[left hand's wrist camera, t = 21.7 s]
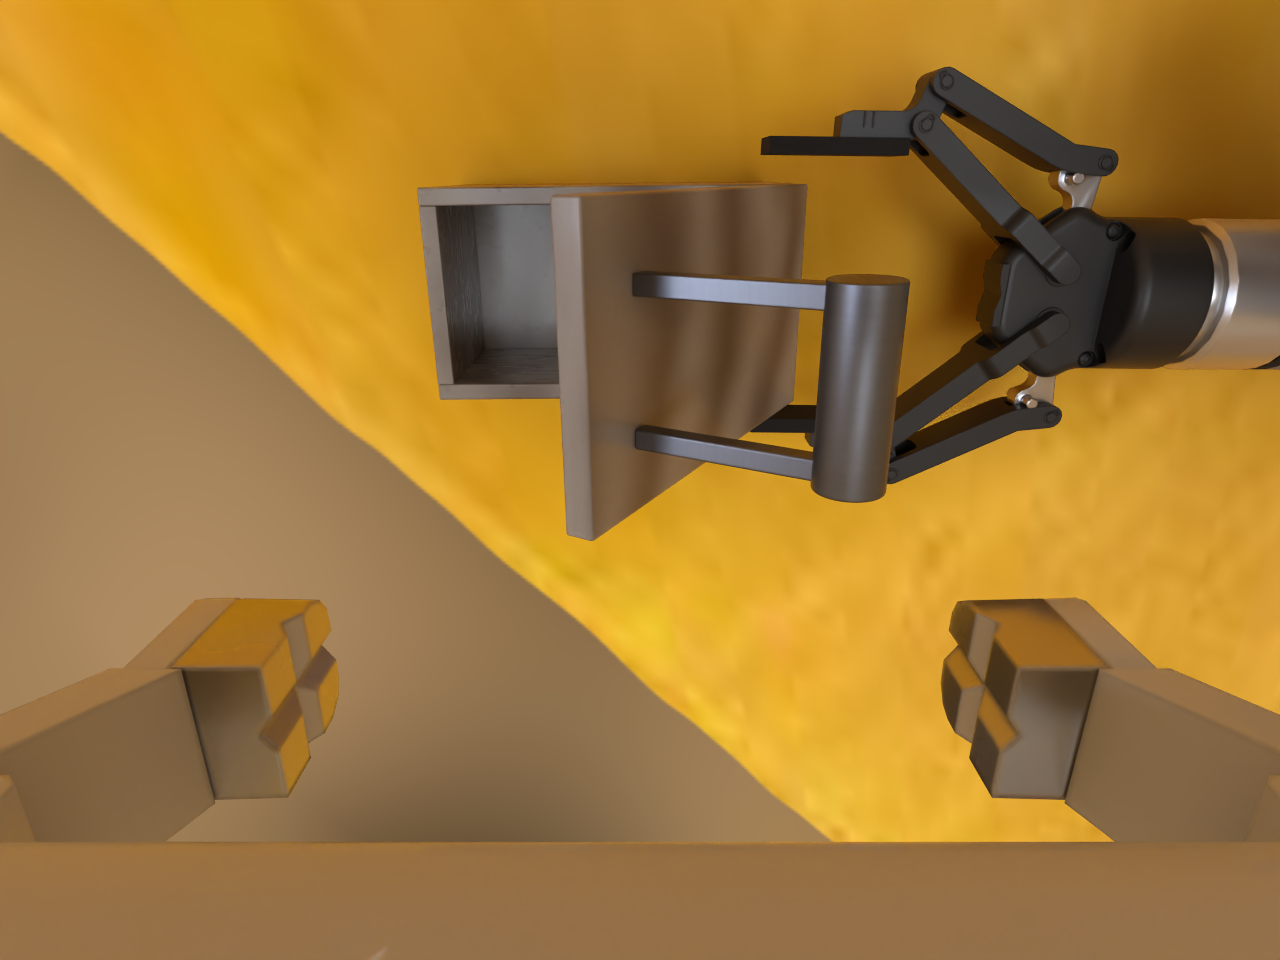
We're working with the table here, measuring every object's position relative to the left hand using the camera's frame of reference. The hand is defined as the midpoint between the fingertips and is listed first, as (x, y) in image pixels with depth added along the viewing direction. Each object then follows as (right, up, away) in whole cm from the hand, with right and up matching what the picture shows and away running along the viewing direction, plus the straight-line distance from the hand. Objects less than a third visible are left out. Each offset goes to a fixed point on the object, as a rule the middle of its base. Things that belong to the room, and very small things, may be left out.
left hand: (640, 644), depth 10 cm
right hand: (+6, +12, +30) cm, 32 cm away
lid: (+2, +8, +20) cm, 21 cm away
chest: (-2, +14, +36) cm, 39 cm away
